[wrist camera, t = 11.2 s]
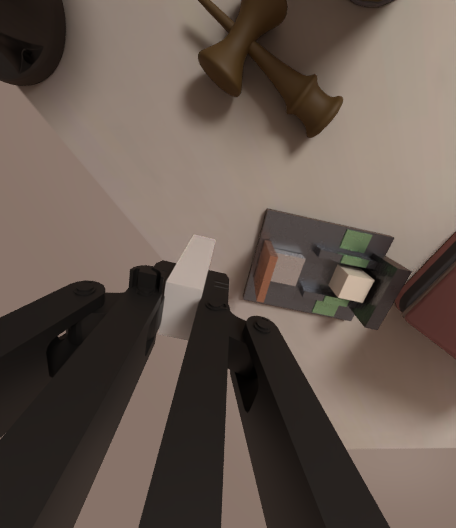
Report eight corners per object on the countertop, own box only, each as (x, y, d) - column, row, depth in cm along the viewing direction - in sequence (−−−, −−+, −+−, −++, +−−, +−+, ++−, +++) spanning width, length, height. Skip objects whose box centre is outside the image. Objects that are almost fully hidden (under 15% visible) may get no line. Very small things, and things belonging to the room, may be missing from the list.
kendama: (295, 157, 33) (176, 52, 28) (345, 92, 30) (221, -38, 25) (308, 155, 27) (163, 23, 23) (372, 74, 24) (219, -97, 20)
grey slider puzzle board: (243, 295, 41) (244, 320, 35) (267, 208, 35) (273, 218, 28) (348, 317, 42) (368, 344, 36) (389, 235, 36) (423, 250, 29)
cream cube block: (328, 285, 38) (337, 297, 35) (337, 264, 37) (348, 274, 33) (350, 289, 39) (362, 302, 35) (361, 269, 37) (374, 280, 33)
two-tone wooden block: (253, 278, 38) (256, 301, 32) (264, 239, 36) (270, 255, 29) (290, 286, 39) (301, 310, 32) (304, 248, 36) (319, 266, 29)
